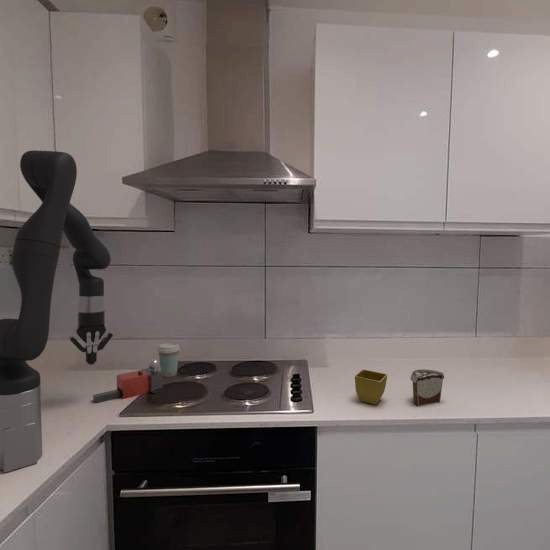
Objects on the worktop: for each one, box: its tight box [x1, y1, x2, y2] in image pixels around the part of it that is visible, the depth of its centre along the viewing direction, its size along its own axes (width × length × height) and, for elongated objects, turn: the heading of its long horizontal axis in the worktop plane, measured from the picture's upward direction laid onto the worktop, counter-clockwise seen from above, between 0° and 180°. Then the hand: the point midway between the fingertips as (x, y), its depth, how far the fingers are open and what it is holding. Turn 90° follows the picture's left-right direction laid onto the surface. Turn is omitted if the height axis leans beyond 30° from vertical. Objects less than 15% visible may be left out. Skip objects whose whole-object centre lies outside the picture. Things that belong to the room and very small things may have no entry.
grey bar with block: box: [92, 358, 164, 404], centre depth 123 cm, size 10×22×11 cm, turn 130°
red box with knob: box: [116, 369, 150, 400], centre depth 124 cm, size 6×9×7 cm
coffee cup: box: [157, 342, 181, 378], centre depth 143 cm, size 8×8×12 cm
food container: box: [410, 369, 445, 407], centre depth 121 cm, size 12×6×10 cm, turn 111°
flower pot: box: [354, 369, 388, 405], centre depth 120 cm, size 9×9×9 cm
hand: (91, 363), depth 114 cm, fingers closed
